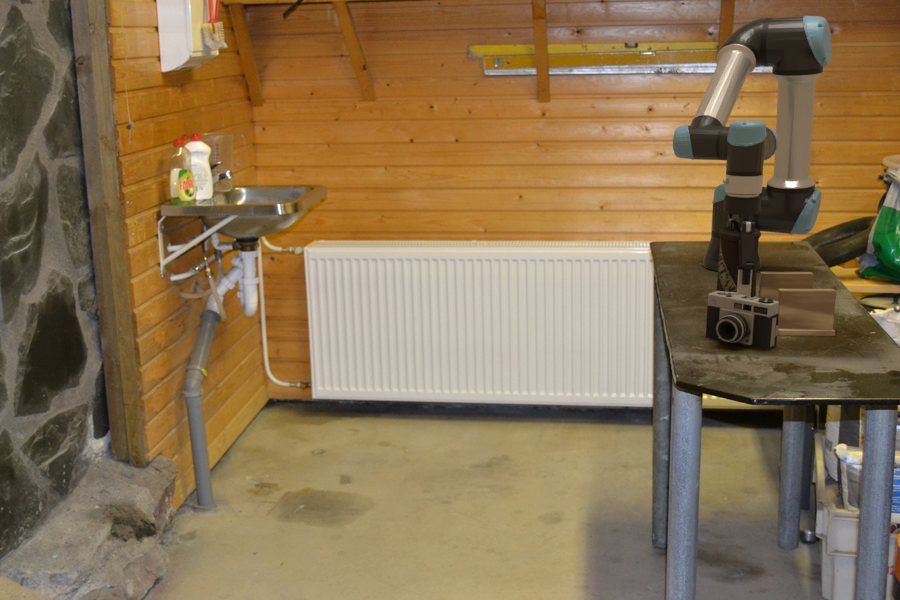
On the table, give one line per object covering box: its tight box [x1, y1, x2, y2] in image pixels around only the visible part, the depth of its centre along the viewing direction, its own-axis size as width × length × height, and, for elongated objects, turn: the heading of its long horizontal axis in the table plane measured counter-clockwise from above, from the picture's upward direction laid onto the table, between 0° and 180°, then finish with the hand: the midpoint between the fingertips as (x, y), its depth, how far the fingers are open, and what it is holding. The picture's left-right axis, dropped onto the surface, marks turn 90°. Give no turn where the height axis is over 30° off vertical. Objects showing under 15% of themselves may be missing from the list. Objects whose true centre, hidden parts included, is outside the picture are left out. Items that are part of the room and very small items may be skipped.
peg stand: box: [757, 271, 837, 337], centre depth 191 cm, size 20×11×9 cm, turn 175°
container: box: [716, 227, 762, 298], centre depth 194 cm, size 9×9×20 cm
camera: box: [705, 290, 779, 352], centre depth 177 cm, size 14×9×10 cm, turn 37°
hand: (736, 290), depth 195 cm, fingers open, 13 cm apart
